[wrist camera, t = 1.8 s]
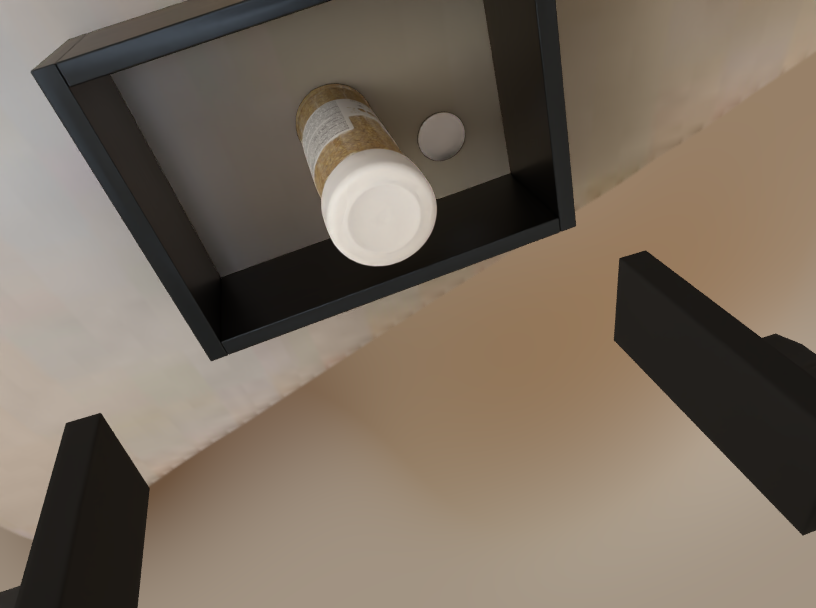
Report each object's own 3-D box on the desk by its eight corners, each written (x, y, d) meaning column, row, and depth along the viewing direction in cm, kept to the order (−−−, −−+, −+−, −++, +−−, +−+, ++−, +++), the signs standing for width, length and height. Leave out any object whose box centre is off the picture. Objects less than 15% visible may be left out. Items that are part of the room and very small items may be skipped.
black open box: (486, -99, 30) (547, -100, 24) (526, 181, 40) (576, 226, 34) (67, 39, 29) (29, 71, 23) (212, 295, 38) (210, 361, 33)
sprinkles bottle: (387, 125, 35) (460, 221, 24) (329, 175, 36) (375, 290, 25) (337, 63, 32) (395, 139, 22) (276, 117, 33) (302, 218, 22)
